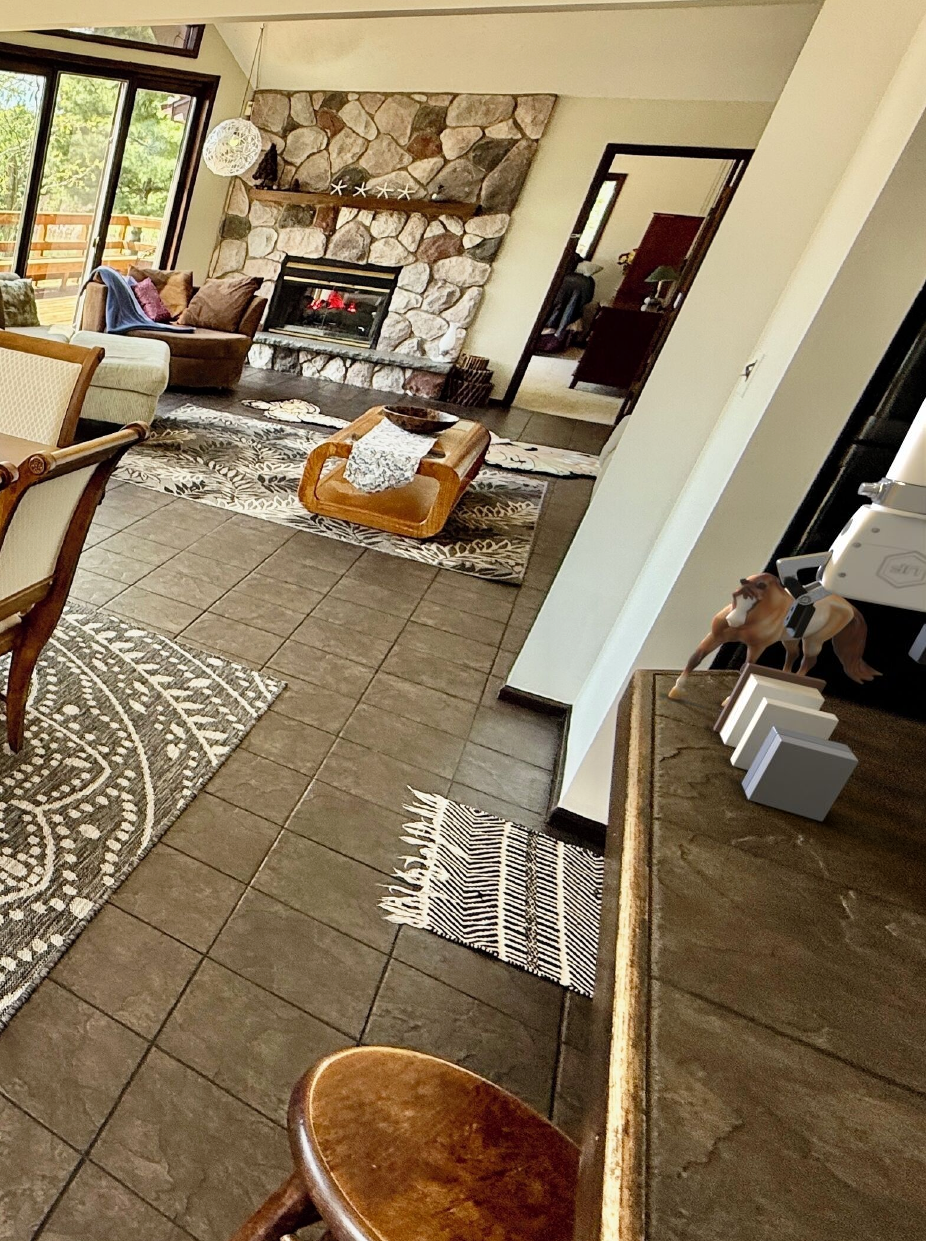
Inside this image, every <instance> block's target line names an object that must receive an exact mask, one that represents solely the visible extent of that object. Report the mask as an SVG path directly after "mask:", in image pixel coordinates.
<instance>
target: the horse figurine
mask: <svg viewBox="0 0 926 1241" xmlns="http://www.w3.org/2000/svg"><path fill="white" fill-rule="evenodd" d="M779 579H780V578H778V577H777V576H775V575H774V574H772V573H769V572H761V573H760V574H752V575H750V576H748V577H747V578H745V577H742V578H740V579H739V583H740V585H741V586H738V588H736V589H735V591H733V592H732V593H731V597H732V602H731V603H730V604H728V605H726V606H725V607H724V608H723V609H722V610H720V611H719V612H718V613H716V614H715V615H714V616H713V618H712V620H711V625H710V630H711V631H710V632H709V633H708V634H707V635H706V636H705V637H704V638H703V640H702V641H701V642H700V643H699V644H698V646H697V648H696V650H695V651H694V652H693V653H692V654H691V655H690V657H689V659H688V660H687V664H686V666H685V668H684V669H683V671H682V672H681V674H680V676H679V677H678V678H677V679H676V683H675V685H674V686H673V687H672V688H671V690H670V691H669V693H668V697H669V698H670V699H673V700H681V699H683V698H684V697H685V694H686V688H684V686H685V685H686V684H687V683H688V679H689V677H690V676H691V673H693V671H694V670H695V669H696V668H697V667H699V666H700V665H701V663H702V662H703V661H704V659H705V658H706V657H707V656H709V655H710V654H712V653H713V652H714V651H715V650H717V649H718V648H719V647H721V646H722V645H723V644H726V643H729V642H730V643H737V642H740V643H742V644H744V645H746V646H747V650H746V659H745V662H744V663H743V664H742V665H741V667H740V670H739V672H740V675H741V674H742V673H743V671H744V669H745V667H746V665H747V663H752V664H756V663H757V661H758V659H759V658H760V657H761V655H762V654H763V652H764V651H765V650H766V649H767V648H768V647H769V646H771V645H773V644H775V643H776V642H781V643H782V645H783V646H784V648H785V650H786V654H785V663H784V665H783V669H782V671H786V672H790V673H792V667H793V665H794V663H795V661H796V660H797V659H798V658H799V656H800V646H799V643H800V641H802V651H803V652H802V653H803V657H802V659H801V662H800V666H799V669H798V671H797V672H796V673H795V674H799V675H803V676H806V674H807V673H808V672H809V671H810V670H811V669H812V668H813V667H814V666H815V665H816V664H817V661H818V660H817V658H818V655H819V654H820V652H821V651H822V648H823V644H824V642H826V641H828V640H831V643H832V646H833V651H834V654H835V655H836V656H837V657H838V659H839V661H840V663H841V664H842V665H843V670H844V672H845V674H846V675H847V676H848V678H850V679H851V680H852V681H854V682H856V683H858V684H860V685H863V684H864V682H863V681H869V682H870V681H871V682H872V681H873V680H874V679H875V677H874V676H883V673H881V672H879V671H877V670H875V669H874V668H873V667H871V666H869V664H867V663H866V661H865V660H864V659H863V658H862V657H863V655H864V652H865V647H866V640H867V636H868V625H867V623H866V621H865V618H864V616H863V614H862V613H861V612H860V611H859V610H858V609H857V607H855V606H854V605H853V604H851V603H850V602H849V601H847V599H845V597H841V596H837V595H835V594H833V595H830V596H828V597H826V598H823V599H821V600H818V601H816V602H815V603H814V605H813V606H814V607H815V608H816V611H815V613H814V615H813V617H812V619H811V621H810V623H809V625H808V627H807V629H806V631H805V633H804V635H803V636H802V638H799V639H797V638H792V637H791V636H790V635H789V634H788V632H787V628H786V627H784V626H783V623H784V620H785V618H786V616H787V614H788V612H789V610H790V608H791V606H792V604H793V602H794V600H795V599H794V597H793V596H792V595H791V594H790V593H789V591H788V590H787V589H786V588H785V587H784V586H783V585H782V584H781V580H779ZM802 586H803V587H804V586H805V585H802ZM730 696H731V695H730ZM730 696H728V697H726V699H725V700H723V702H722V703H721V707H723V708H724V707H725V705H726V703H727V701H728V699H729V697H730Z"/></svg>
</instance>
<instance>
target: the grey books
mask: <svg viewBox="0 0 926 1241" xmlns="http://www.w3.org/2000/svg"><path fill="white" fill-rule="evenodd" d="M859 761H860V760H858V758H857V757H856V755H855V754H854V752H852V750H851V748H850V747H849V746H848V744H844V743H841V742H837V741H832V740H829V739H828V740H825V739H821V738H817V737H813V736H810V735H806V734H802V733H798V732H794V731H790V730H786V729H783V728H779V727H775V726H773V727H772V729H771V731H770V733H769V734H768V736H767V738H766V740H765V742H764V743H763V745H762V747H761V749H760V751H759V753H758V754H757V756H756V758H755V760H754V762H753V763H752V765H751V767H750V769H749V770H747V773H746V775H745V776H744V778H743V780H742V782H741V786H742V788H743V790H744V794H745V795H746V798H747V800H748V801H751V802H755V803H758V804H761V805H765V806H768V807H770V808H774V809H778V810H781V811H784V812H788V813H793V814H794V815H797V816H798V815H799V816H801V817H805V818H808V819H812V820H814V821H819V822H823V821H824V820H825V818H826V817H827V816H828V813H829V812H830V810H831V808H832V806H833V805H834V803H835V801H836V800H837V798H838V797H839V796H840V793H841V792H842V790H843V788H844V786H846V783H847V782H848V780H849V778H850V777H851V775H852V773H853V771H854V770H855V768H856V767H857V765H858V764H859Z"/></svg>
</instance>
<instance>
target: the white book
mask: <svg viewBox="0 0 926 1241" xmlns="http://www.w3.org/2000/svg"><path fill="white" fill-rule="evenodd" d="M839 721H840V720H839V719H838V717H837V716H836V714H834V713H830V712H825V711H822V710H819V711H818V710H814V709H810V708H806V707H802V706H798V705H794V704H790V703H786V702H782V701H778V700H773V699H769V698H765V697H764V698H763V700H762V702H761V704H760V705H759V707H758V709H757V711H756V713H755V715H754V716H753V718H752V720H751V722H750V724H749V726H748V728H747V729H746V731H745V733H744V735H743V737H742V739H741V741H740V742H739V744H738V746H737V748H736V747H735V750H734V752H733V753H732V755H731V757H730V763H731V765H732V766H733V767H735V768H739V769H742V770H746V771H749V769H750V767H751V765H752V763H753V762H754V760H755V758H756V756H757V754H758V753H759V751H760V749H761V747H762V745H763V743H764V742H765V740H766V738H767V736H768V734H769V733H770V731H771V729H772V727H773V726H775V727H779V728H783V729H786V730H790V731H794V732H798V733H802V734H806V735H810V736H813V737H817V738H821V739H825V740H829V739H830V737H831V735H832V734H833V732H834V730H835V729H836V726H837V725H838V723H839Z"/></svg>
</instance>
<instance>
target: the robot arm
mask: <svg viewBox="0 0 926 1241" xmlns="http://www.w3.org/2000/svg"><path fill="white" fill-rule="evenodd" d="M857 494H858V495H860V496H861V495H862V496H866V497H867V498H870V499H871V501H872V503H871V504H862V506H860V508H858V510H857V511H856V512H855V513H854V514H853V515H852V517H851V518H850V519H849V520H848V522H847V523H846V524H845V526H844V527H843V529H842V530H841V532H840V533H839V534H838V536H837V537H836V539H835V540H834V542H833V543H832V545H831V546H830V548H829V550H828V551H823V552H816V553H809V554H804V555H797V556H796V555H795V556H790V557H783V558H779V559H777V560H776V562H775V564H776V569H777V572H778V576H779V579H780V584H781V585H782V586H783V587H784V589H785V588H786V589H787V590H788V591H789V593H790V594H791V595H792V596H793V597H794V599H795V600H794V602H793V604H792V606H791V608H790V610H789V612H788V614H787V616H786V618H785V620H784V623H783V626H784V627H786V628H787V632H788V634H789V635H790V636H791V637H792V638H797V639H799V638H801V639H802V636H803V635H804V633H805V631H806V629H807V627H808V625H809V623H810V621H811V619H812V617H813V615H814V613H815V611H816V608H815V607H814V606H813V605H814V603H815V602H816V601H818V600H821V599H823V598H826V597H828V596H830V595H833V594H835V595H837V596H841V597H843V598H844V599H845V598H846V599H851V600H857V601H861V602H866V603H872V604H878V605H883V606H888V607H889V606H890V607H894V608H898V609H899V608H900V609H906V610H912V611H916V612H923V613H926V398H925V399H924V401H923V402H922V404H921V406H920V408H919V410H918V412H917V414H916V416H915V418H914V419H913V421H912V424H911V425H910V428H909V430H908V431H907V434H906V436H905V438H904V439H903V442H902V444H901V446H900V448H899V450H898V452H897V453H896V455H895V458H894V460H893V462H892V464H891V466H890V467H889V470H888V472H887V474H886V475H885V477H882V478H881V480H879V481H878V482H872V483H871V482H862V483H861V484H860V486H859V488H858V491H857ZM815 567H819V568H818V569H817V572H816V575H815V580H816V581H815V580H814V581H813V582H811V583H808V584H806V585H803V584H802V583H801V582H800V581H799V579H798V574H797V573H798V571H799V570H803V569H809V568H815ZM803 586H804V587H803ZM908 656H909V657H910V658H912V659H913V660H914V661H915V663H918V664H919V665H926V623H924V624H923V626H922V628H921V630H920V632H919V633H918V635H917V637H916V639H915V641H914V642H913V644H912V646H911V647H910V650H909V652H908Z"/></svg>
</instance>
